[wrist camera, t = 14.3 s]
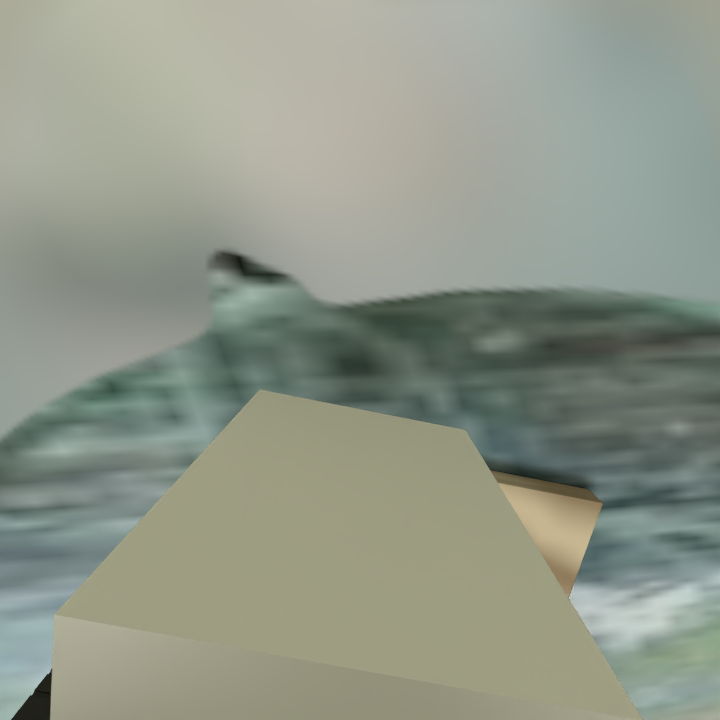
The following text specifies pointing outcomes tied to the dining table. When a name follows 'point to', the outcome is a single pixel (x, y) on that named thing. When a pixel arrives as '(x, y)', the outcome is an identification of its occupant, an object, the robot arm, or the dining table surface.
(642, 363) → the dining table surface
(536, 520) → the base plate
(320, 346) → the dining table surface
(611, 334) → the dining table surface
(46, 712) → the robot arm
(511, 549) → the cream rectangular block
